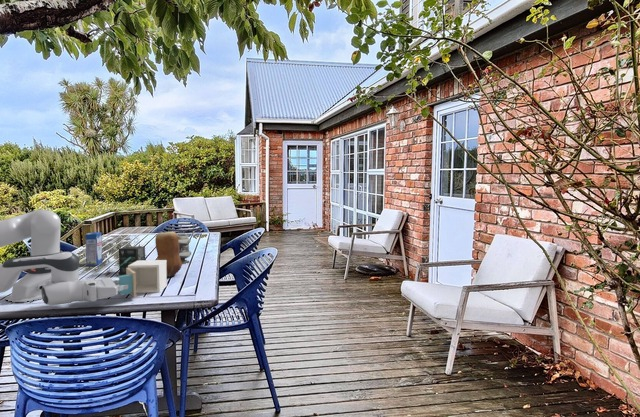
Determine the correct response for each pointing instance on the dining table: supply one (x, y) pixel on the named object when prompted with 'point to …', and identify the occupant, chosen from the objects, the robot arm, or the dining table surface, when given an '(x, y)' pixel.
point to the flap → (128, 282)
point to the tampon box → (130, 256)
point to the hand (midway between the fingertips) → (126, 284)
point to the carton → (150, 275)
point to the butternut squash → (169, 251)
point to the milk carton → (93, 248)
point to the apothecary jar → (184, 248)
